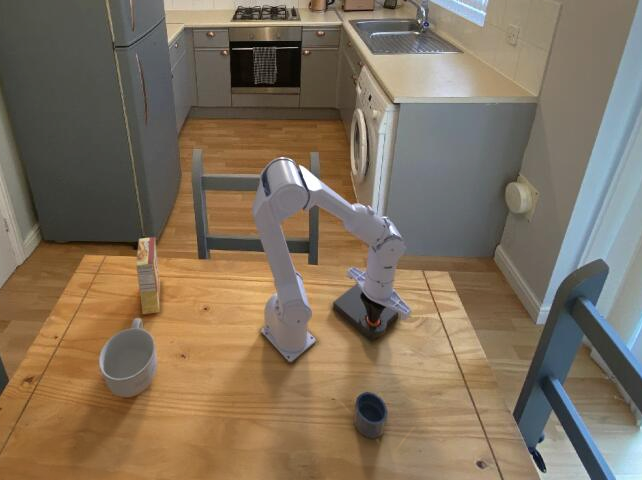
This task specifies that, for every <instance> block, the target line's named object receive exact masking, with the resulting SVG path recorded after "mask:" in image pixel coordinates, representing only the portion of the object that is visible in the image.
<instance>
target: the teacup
mask: <svg viewBox="0 0 642 480" xmlns="http://www.w3.org/2000/svg"><path fill="white" fill-rule="evenodd" d="M98 368H99V370H100V372H101V374H102V378H103V381H104V382H105V385H106V387H107V389H108V390H109V391H110V392H111V393H112V394H113V395H114V396H116V397H120V398H130V397H131V398H132V397H134V396H137V395H140V394H141V393H142V392H144V391H145V390H146V389H147V388H148V387H150V385H151V384H152V382H153V380H154V378H155V377H156V373H157V370H158V355H157V350H156V342H155V339H154V337H153V335H152V334H151V333H150V332H149V331H148V330H145V329H143V320H142V319H141V318H140V317H139V318H137V317H136V318H134V319H133V320H132V323H131V328H126V329H123V330H121V331H118V332H117V333H115V334H113V335H112V336H111V337H110V338H109V339H108V340H107V341H106V342H105V344H104V345H103V346H102V348H101V350H100V353H99V356H98Z"/></svg>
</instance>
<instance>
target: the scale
mask: <svg viewBox="0 0 642 480" xmlns="http://www.w3.org/2000/svg"><path fill="white" fill-rule="evenodd" d="M362 292H363V291H362V290H361V288H360V287H359V286H358V284H357V283H355V284H354V285H353V286H352V287H351V288H349V289H348V290H347V291H345V292H344V293H343V294H341V296H339V297H338V298H337V299H336V300H334V301H333V303H332V308H333V310H335V311H336V312H337V313H339V315H340V316H342V317H343V318H344V319H345V320H346V321H348V322H349V323H350V324H351V325H352V326H354V327H355V328H356V329H357V330H358V331H359V332H360V333H362V334H363V335H364V336H365V337H366V338H367V339H369V340H370V341H371V342H373V341H374V340H375V339H376V338H381V337H383V336H384V335H385V334H386V332H387V327H389V326H390V325H391V324H392V323H393V322H394V321H395V320H396V319H397V318H398V317H399V313H398V312H397V311H395V310H393V309H390V308H388V307H386V308H385V309H384V310H383V312H382V313H381V315H380V317H379V319H380V325H379V327H372V326H370V325H368V324H367V322H366V320H367V311H366V308H365V305H364V303H363V301H362V300H361V298H360V295H361V293H362Z"/></svg>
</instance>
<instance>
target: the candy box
mask: <svg viewBox="0 0 642 480" xmlns="http://www.w3.org/2000/svg"><path fill="white" fill-rule="evenodd" d="M156 242H157V241H156V236H152V237H143V238H138V242H137V252H136V263H135V266H136V273H137V281H138V288H139V297H140V305H141V312H142V315H148V314H157V313H160V301H161V299H160V298H161V281H160V280H161V279H160V272H159V271H160V269H159V260H158V251H157V250H158V249H157V243H156Z"/></svg>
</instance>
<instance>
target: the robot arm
mask: <svg viewBox="0 0 642 480" xmlns="http://www.w3.org/2000/svg"><path fill="white" fill-rule="evenodd" d="M298 167H299V169H298ZM314 206H317V207H319V208H320V209H322V210H324V211H326V212H327V213H329V214H330V215H333V216H334V217H336V218H338V219H340V220H341V224H342V227H343V229H344V230H346V231H347V232H349V233H350V234H352V235H353V236H355V237H356V238H358V239H359V240H361V241H362V242H364V243H365V244H367V245H368V252H367V259H366V260H367V261H366V267H365V271H363V270H360V269H359V268H356V267H355V266H352V267H350V268H349V269H348V270H347V274H346V277H347V278H348V279H349V280H354V282H355V284H358V286H359V287H360V288H361V290H362V291H363V292H362V293H361V295H360V298H361V300H362V301H363V303H364V305H365V308H366V311H367V316H368V320H369V321H370V322H371V323H373V324H374V323H375V322H376V321H377V320H378V319H379V317H380V315H381V313H382V312H383V310H384V309H385V308H386V307H388V308H390V309H393V310H395V311H397V312H398V315H400V319H402V320H403V321H404V322H405V321H407V320H408V319H409V317H411V314H412V308H411V307H410V306H409V305H408V304H407V303H406V302H405V301H404V299H402V297H401V296H400V295H399V294H398V292H397V291H396V290H395V289H394V285H395V284H394V283H395V278H396V272H397V267H398V264H399V260H400V258H401V257H402V256H403V255H404V254H405V253H406V251H407V247H406V246H405V240H404V238H403V237H402V235H401V233H400V232H399V230H398V229H397V228H396V226H395V223H393V222H392V220H390V217H388V216H379V215H378V214H376V212H375V210H374V209H373V207H371V206H370V205H367V206H365V205H363V204H362V203H358V202H356V203H352V204H351V203H350V202H349V201H347V200H346V199H345V198H343V197H342V196H340V195H339V194H338V193H337V192H335V190H333V189H332V188H330V187H329V186H328V185H326V184H325V183H324V182H323V181H321V180H320V179H319V178H317V177H316V176H315V175H314V174H313V173H311V172H310V170H308V169H307V168H306V167H305V166H302V165H301V164H298V165H297V163H296V162H295V161H294V160H293V159H291V158H289V157H284V156H282V157H281V156H280V157H277V158H274V159H272V160H271V161H270V162H268V163H267V165H266V166H265V167H264V168H263V169H262V171H261V172H260V175H259V184H258V187H257V190H256V194H255V196H254V200H253V203H252V205H251V212H252V217H253V218H252V219H253V222H254V225H255V228H256V231H257V233H258V237H259V239H260V243H261V245H262V248H263V251H264V254H265V257H266V259H267V262H268V265H269V268H270V272H271V274H272V277H273V285H274V289H275V293H274V294H273V295H271V296H270V297H269V298H268V300H267V301H266V303H265V306H264V314H263V315H264V317H263V318H264V319H263V320H264V321H263V322H264V323H263V327H262V328H261V330H260V331H261V334H262V335H263V336H264V337H265V338H266V339H267V340H268V341H269V342H270V343H271V345H273V346H274V348H275V349H276V350H277V351H278V352H279V353H280V354H281V355H282V356H283V358H285V360H287V362H289V363H292V362H293V361H295V360H296V359H298V357H300V356H301V355H302V354H303V353H304V352H305V351H307V350H308V349H309V348H310V347H311V346H312V345H313V344H315V343H316V342H317V341H316V338H315V337H314V336H313V335H312V333H310V332H309V331H308V330H309V321H310V320H311V319H312V317H313V310H312V308H311V306H310V303H309V299H308V296H307V292H306V289H305V286H304V279H303V276H302V274H300V273H299V272H298V271H297V270H296V268H295V265H294V263H293V260H292V257H291V254H290V250H289V247H288V245H287V240H286V238H285V235H284V231H283V227H282V225H281V223H283V222H284V221H286V220H288V219H290V218H291V217H292V216H294V215H295V214H297V213H299V212H300V211H301V210H303V212H308V211H309V210H310V209H311V208H313V207H314Z"/></svg>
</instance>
